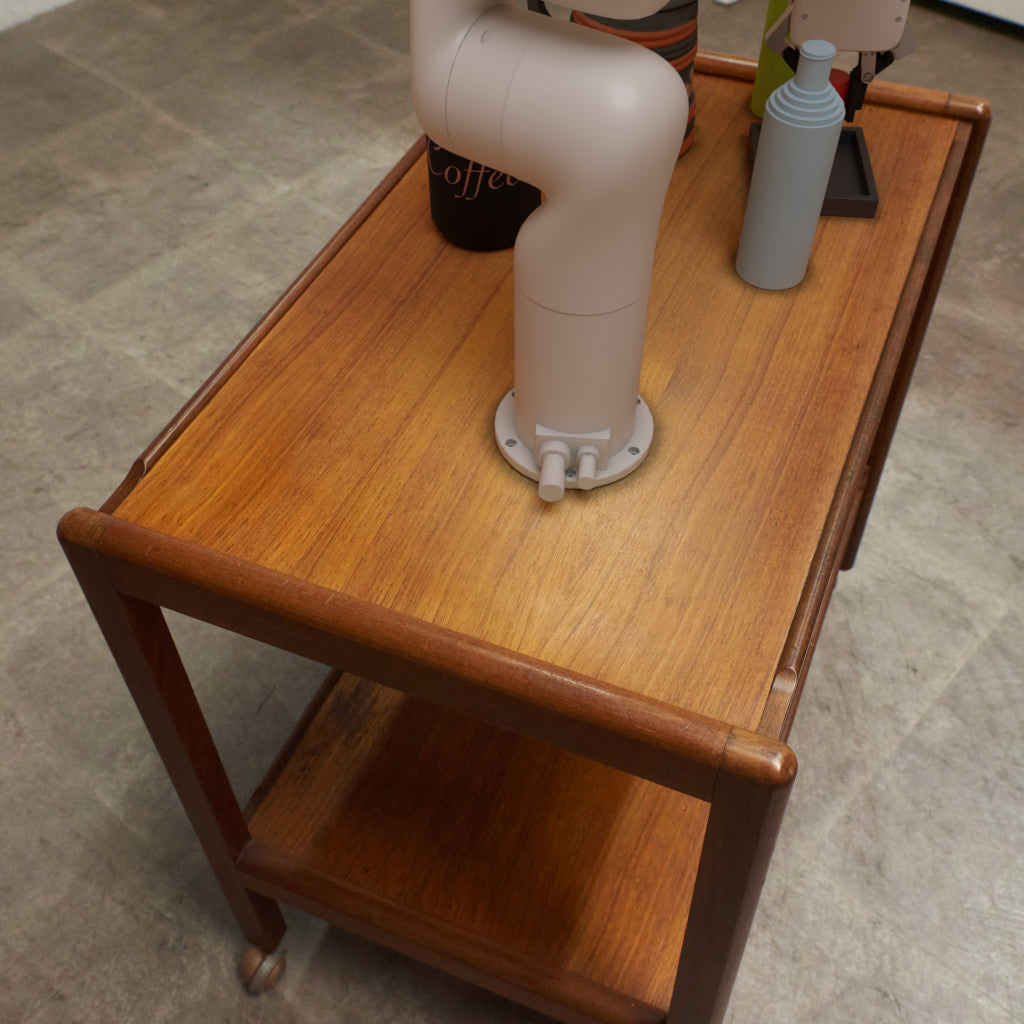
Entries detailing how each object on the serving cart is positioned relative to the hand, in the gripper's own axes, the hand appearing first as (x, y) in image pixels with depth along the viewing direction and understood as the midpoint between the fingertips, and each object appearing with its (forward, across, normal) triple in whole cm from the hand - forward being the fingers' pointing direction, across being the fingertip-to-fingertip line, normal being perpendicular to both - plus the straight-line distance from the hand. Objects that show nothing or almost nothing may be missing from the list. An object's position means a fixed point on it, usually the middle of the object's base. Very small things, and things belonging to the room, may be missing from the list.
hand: (823, 112), depth 104 cm
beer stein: (+7, +21, -7) cm, 23 cm away
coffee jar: (+7, +32, +11) cm, 35 cm away
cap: (0, 0, -1) cm, 1 cm away
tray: (+7, 0, 0) cm, 7 cm away
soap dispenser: (+7, +2, -14) cm, 16 cm away
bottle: (+7, +5, +16) cm, 18 cm away
